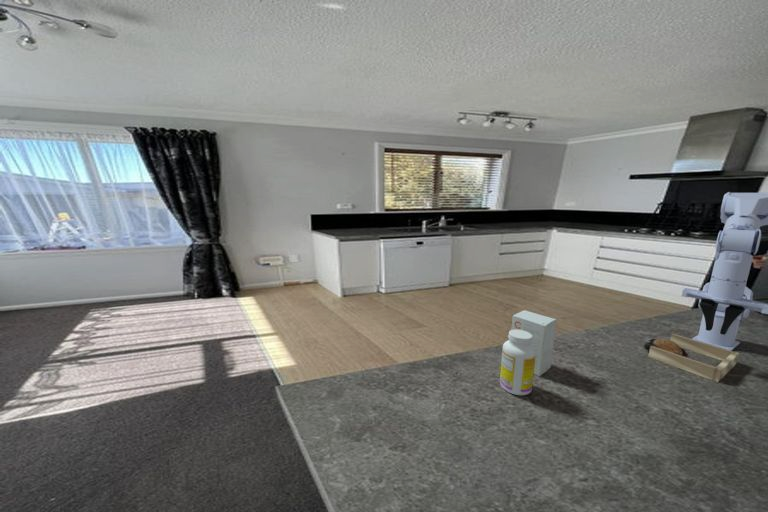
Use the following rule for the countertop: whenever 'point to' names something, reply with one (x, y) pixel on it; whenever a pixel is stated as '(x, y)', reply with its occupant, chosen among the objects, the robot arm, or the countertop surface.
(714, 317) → the robot arm
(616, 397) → the countertop surface
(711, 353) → the frame
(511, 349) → the supplement bottle
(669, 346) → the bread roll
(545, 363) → the small box
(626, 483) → the countertop surface
